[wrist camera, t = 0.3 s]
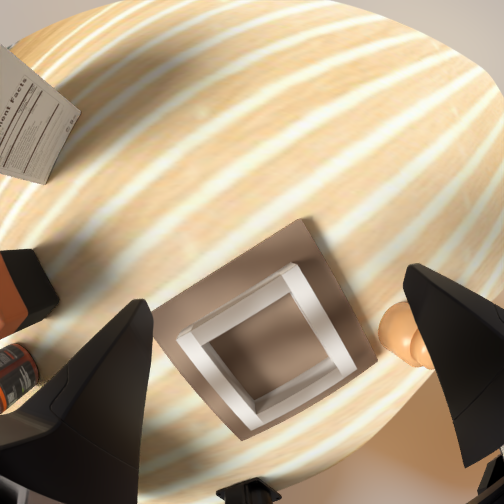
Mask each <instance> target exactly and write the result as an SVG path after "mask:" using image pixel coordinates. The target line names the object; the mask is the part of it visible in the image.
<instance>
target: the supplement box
mask: <svg viewBox="0 0 504 504" xmlns="http://www.w3.org/2000/svg"><path fill="white" fill-rule="evenodd" d="M80 114H81V111H80V110H79V109H78V108H77V107H76V106H74V105H73V104H72V103H71V102H70V101H68V100H67V99H66V98H65V97H64V96H62V95H61V94H60V93H59V92H58V91H56V90H55V89H54V88H53V87H52V86H51V85H49V84H48V83H47V82H46V81H45V80H43V79H42V78H41V77H40V76H39V75H37V74H36V73H35V72H34V71H33V70H32V69H30V68H29V67H28V66H27V65H26V64H25V63H23V62H22V61H21V60H20V59H19V58H17V57H16V56H15V55H14V54H13V53H12V52H10V51H9V50H8V49H7V48H6V47H4V46H3V45H2V44H0V174H3V175H7V176H11V177H15V178H19V179H23V180H27V181H30V182H34V183H38V184H42V185H45V184H46V181H47V179H48V177H49V174H50V172H51V170H52V168H53V165H54V163H55V161H56V159H57V157H58V155H59V153H60V151H61V149H62V147H63V145H64V143H65V141H66V139H67V137H68V135H69V133H70V131H71V130H72V128H73V126H74V124H75V122H76V121H77V119H78V117H79V116H80Z"/></svg>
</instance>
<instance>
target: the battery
mask: <svg viewBox="0 0 504 504" xmlns="http://www.w3.org/2000/svg"><path fill="white" fill-rule="evenodd" d="M58 303H59V298H58V296H57V294H56V292H55V291H54V289H53V287H52V285H51V284H50V282H49V280H48V278H47V276H46V275H45V273H44V271H43V269H42V267H41V265H40V263H39V261H38V259H37V257H36V255H35V253H34V251H33V250H32V249H19V250H4V251H0V339H2V338H5V337H7V336H9V335H11V334H13V333H15V332H18V331H20V330H22V329H24V328H26V327H29V326H31V325H33V324H35V323H37V322H40V321H42V320H43V319H44V318H45V317H46V316H47V315H48V314H49V313H50V312H51V311H52V310H53V309H54V307H55V306H56V305H57V304H58Z"/></svg>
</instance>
